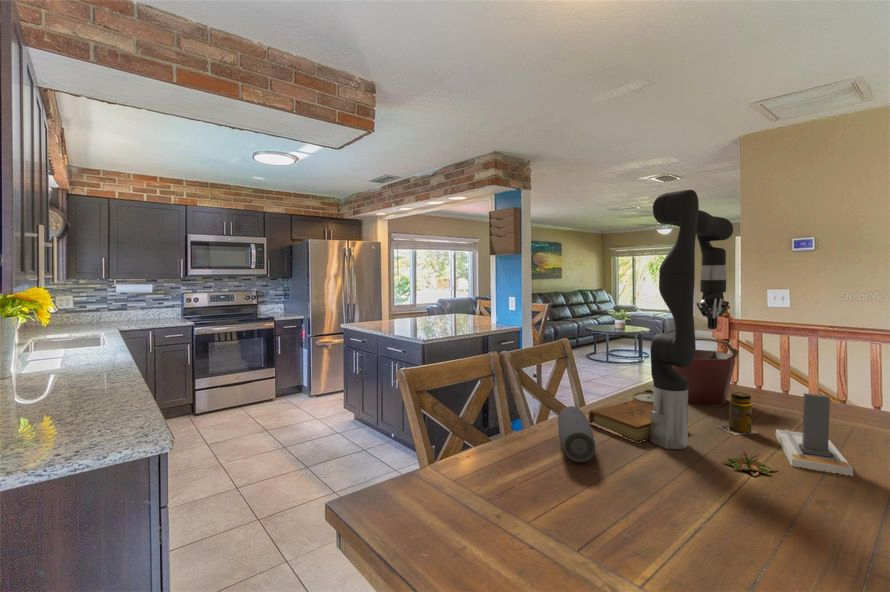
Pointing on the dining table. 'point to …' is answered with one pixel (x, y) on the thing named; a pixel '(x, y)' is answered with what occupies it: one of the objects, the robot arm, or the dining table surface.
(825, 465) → the switch board
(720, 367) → the bucket
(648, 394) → the alarm clock
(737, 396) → the condiment
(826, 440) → the switch lever
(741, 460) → the succulent plant
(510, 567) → the dining table surface
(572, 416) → the bluetooth speaker
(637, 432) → the diary
